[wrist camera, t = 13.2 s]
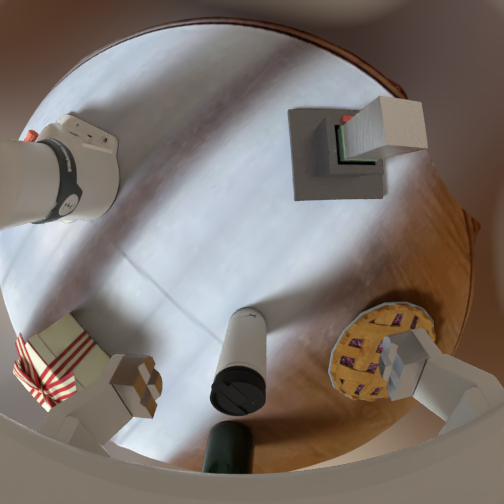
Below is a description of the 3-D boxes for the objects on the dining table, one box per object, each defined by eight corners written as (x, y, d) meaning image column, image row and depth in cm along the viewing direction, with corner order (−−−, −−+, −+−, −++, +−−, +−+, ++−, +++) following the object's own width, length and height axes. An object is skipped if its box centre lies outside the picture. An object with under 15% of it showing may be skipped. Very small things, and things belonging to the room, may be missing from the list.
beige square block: (332, 164, 35) (384, 145, 18) (329, 133, 34) (377, 93, 17) (361, 164, 35) (428, 149, 18) (358, 134, 34) (421, 100, 17)
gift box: (123, 351, 50) (82, 403, 33) (93, 389, 53) (59, 433, 36) (65, 294, 48) (11, 328, 31) (44, 341, 51) (2, 375, 34)
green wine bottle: (202, 436, 54) (172, 554, 22) (222, 414, 52) (196, 550, 20) (240, 451, 55) (228, 566, 22) (264, 431, 52) (260, 561, 20)
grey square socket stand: (294, 200, 42) (303, 203, 31) (287, 112, 39) (294, 88, 28) (378, 198, 41) (410, 202, 31) (372, 114, 38) (400, 95, 28)
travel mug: (249, 298, 46) (239, 371, 26) (273, 327, 47) (277, 408, 27) (220, 318, 47) (195, 395, 27) (244, 345, 48) (233, 428, 28)
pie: (402, 390, 49) (410, 404, 44) (311, 387, 49) (314, 404, 45) (441, 301, 45) (455, 311, 40) (345, 286, 45) (354, 297, 40)
